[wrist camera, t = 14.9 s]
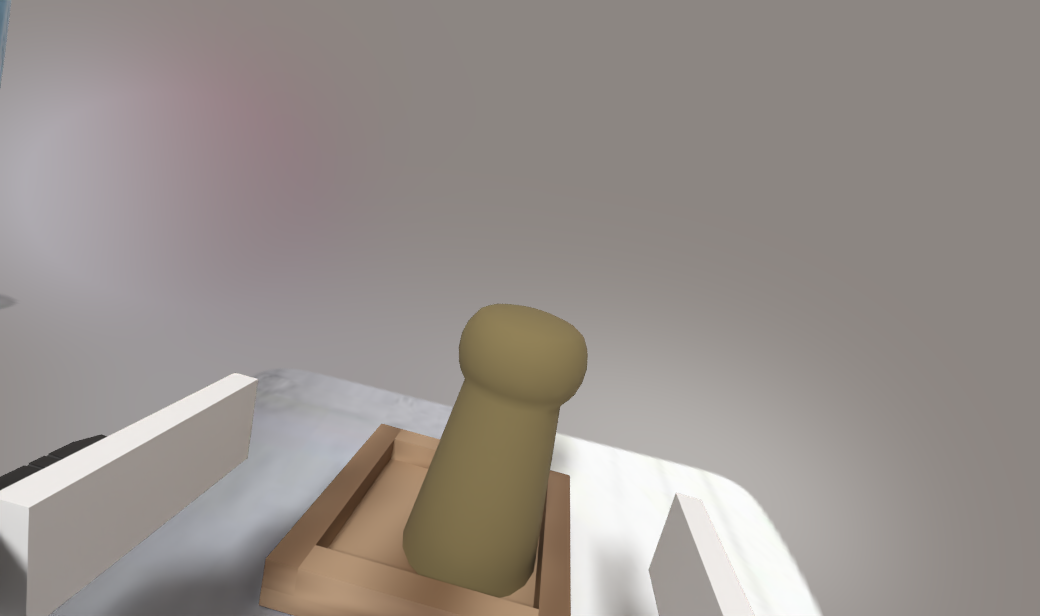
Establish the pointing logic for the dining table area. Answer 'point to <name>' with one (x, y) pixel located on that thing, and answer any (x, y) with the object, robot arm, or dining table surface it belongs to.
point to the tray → (398, 546)
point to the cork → (496, 451)
